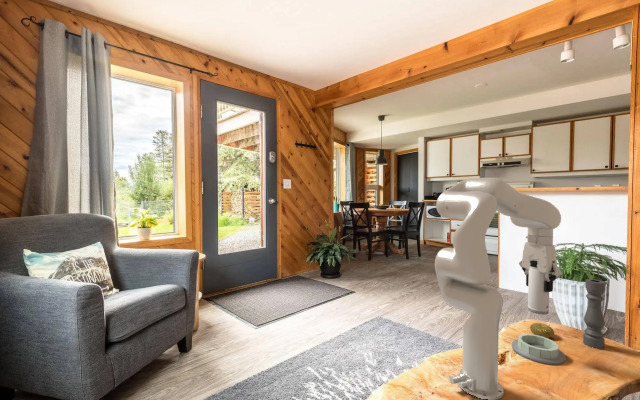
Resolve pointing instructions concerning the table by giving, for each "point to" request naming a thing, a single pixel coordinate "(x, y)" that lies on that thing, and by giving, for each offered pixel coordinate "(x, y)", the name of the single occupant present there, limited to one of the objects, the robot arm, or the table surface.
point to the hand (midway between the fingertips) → (538, 288)
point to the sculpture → (540, 326)
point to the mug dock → (540, 360)
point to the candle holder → (594, 314)
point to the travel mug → (537, 291)
